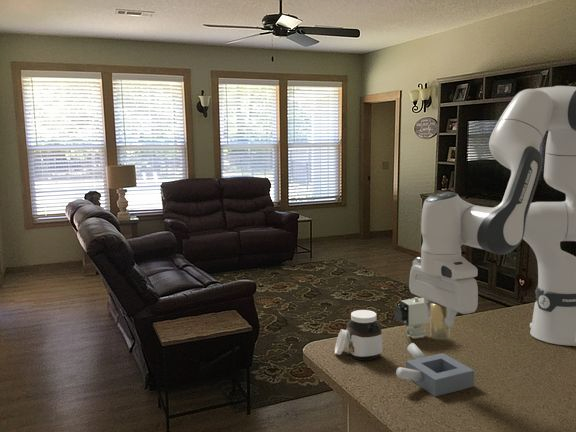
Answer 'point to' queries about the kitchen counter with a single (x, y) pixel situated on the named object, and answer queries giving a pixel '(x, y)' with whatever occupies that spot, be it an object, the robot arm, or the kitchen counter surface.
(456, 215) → the robot arm
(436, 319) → the cylinder
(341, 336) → the spread jar
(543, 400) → the kitchen counter surface
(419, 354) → the coupling block
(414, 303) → the pneumatic valve
